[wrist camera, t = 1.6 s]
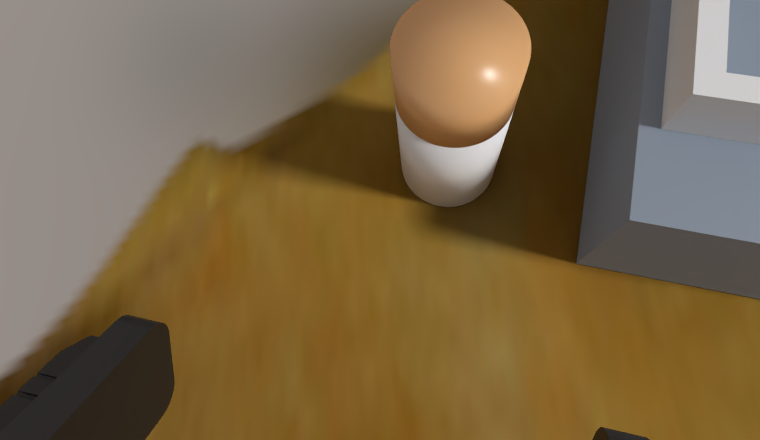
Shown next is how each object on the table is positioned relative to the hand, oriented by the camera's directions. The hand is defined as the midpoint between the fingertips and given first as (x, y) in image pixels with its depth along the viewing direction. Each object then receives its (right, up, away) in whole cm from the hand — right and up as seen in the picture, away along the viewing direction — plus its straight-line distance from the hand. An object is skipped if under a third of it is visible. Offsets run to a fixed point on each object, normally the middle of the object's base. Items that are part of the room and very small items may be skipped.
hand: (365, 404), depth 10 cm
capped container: (+4, +6, +18) cm, 19 cm away
